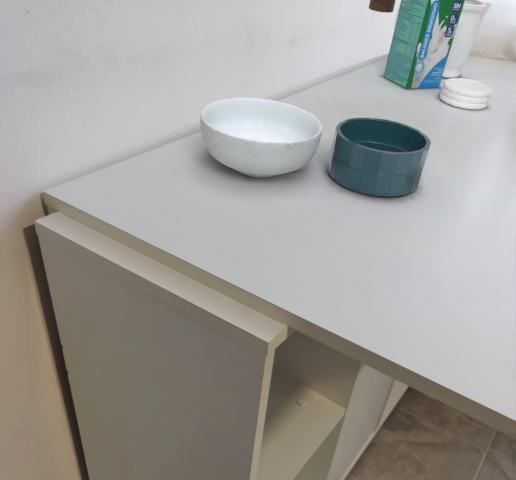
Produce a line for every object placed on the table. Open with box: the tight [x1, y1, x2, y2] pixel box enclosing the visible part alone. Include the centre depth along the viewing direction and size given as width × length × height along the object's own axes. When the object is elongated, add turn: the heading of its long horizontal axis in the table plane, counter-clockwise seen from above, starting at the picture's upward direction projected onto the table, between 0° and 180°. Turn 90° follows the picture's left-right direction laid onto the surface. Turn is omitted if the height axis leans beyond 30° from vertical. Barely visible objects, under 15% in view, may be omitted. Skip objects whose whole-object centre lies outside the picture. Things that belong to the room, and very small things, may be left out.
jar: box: [442, 0, 487, 79], centre depth 124 cm, size 11×10×15 cm
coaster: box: [439, 77, 493, 110], centre depth 111 cm, size 10×10×4 cm
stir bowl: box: [328, 117, 432, 197], centre depth 77 cm, size 13×13×6 cm
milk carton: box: [383, 0, 465, 90], centre depth 112 cm, size 9×9×25 cm
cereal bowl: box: [199, 97, 323, 179], centre depth 76 cm, size 17×17×7 cm
